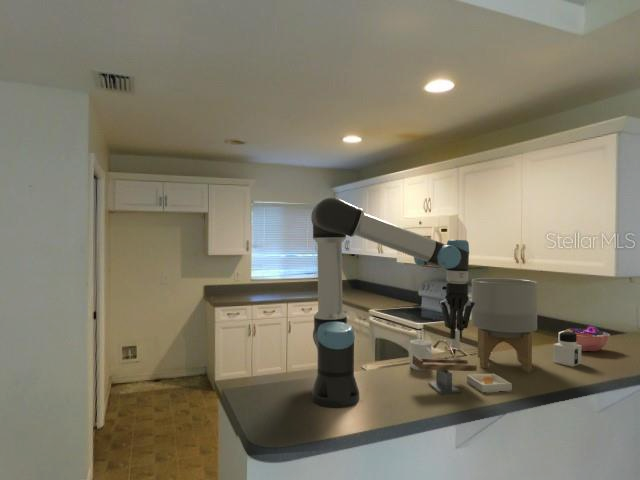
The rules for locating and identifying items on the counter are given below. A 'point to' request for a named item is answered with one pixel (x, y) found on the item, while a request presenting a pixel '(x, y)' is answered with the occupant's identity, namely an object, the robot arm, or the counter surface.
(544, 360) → the counter surface
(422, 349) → the mug
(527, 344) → the planter
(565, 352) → the container
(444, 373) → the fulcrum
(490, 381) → the ball
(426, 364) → the plank
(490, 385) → the dish
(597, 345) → the cell model
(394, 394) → the counter surface
